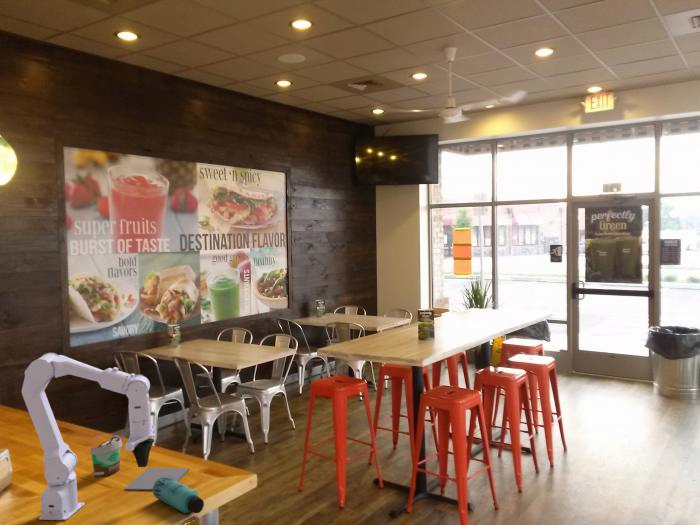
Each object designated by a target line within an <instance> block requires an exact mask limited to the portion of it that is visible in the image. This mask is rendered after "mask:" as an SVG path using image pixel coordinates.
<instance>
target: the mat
mask: <svg viewBox="0 0 700 525" xmlns="http://www.w3.org/2000/svg"><path fill="white" fill-rule="evenodd" d="M189 471H190V468H189V467H187V468H185V467H184V468H180V467H178V468H177V467H147V468H146V469H145V470H143V471H142V473H141V472H140V474H139V475H138V476H137V477H136V478H135V479H134V480H132V482H130V483H129V484H128V485H127V486H126V487H125V488H124V491H140V490H153V486H154V483H155V482H156V481H157V480H158V479H159V478H161V477H164V476H165V477H170V478H171V479H173V480H175V481H177V482H180V480H181V479H182V478H183V477H184V476H185V475H186V474H187V473H188V472H189ZM186 472H187V473H186Z"/></svg>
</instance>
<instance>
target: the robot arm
mask: <svg viewBox="0 0 700 525" xmlns="http://www.w3.org/2000/svg"><path fill="white" fill-rule="evenodd" d="M68 375H71V376H74V377H79V378H82V379H86V380H90V381H95V382H97V383H98V384H99V385H100V387H101V389H105V390H107V391H108V390H109V391H110V392H111V391H112V392H114V393H115V392H116V393H119V394H122V395H126V397H127V398H128V419H129V420H128V421H129V433H130V434H129V437H128V439H127V441H126V443H125V451H129V452H130V451H131V452H132V454H133V456H134V459H135V461H136V464H137V466H138V468H146V467H148V463H149V458H150V452H151V450H152V446H153V444H154V442H155V440H154V438H155V437H156V432H157V431H156V426H155V425H152V419H151V402H150V395H149V391H150V388H151V383H150V380H149V379H148V378H147V377H146V376H145V375H143V374H136V373H131V374H130V373H128V372H124V371H121V370H119V367H116V366H115V367H113V368H111V367H108V368H106V369H104V370H103V369H100V368H98V367H95V366H92V365H89V364H88V363H87V364H86V363H84V362H81V361H78V360H75V359H74V358H70V357H68V356H66V355H62V354H59V355H58V354H57V353H55V352H48V353H44V354H43V355H42V356H41V357H38V358H37V359H35V360H33V361H31V363H30V364H29V365H28V367H27V368H26V369H25V371H24V380H23V383H22V387H21V394H22V398H23V401H24V403H25V405H26V408H27V411H28V414H29V416H30V419H31V421H32V423H33V424H32V425H33V427H34V428H35V431H36V435H37V437H38V439H39V442H40V444H41V448H42V450H43V462H42V463H43V465H44V474H43V475H44V479H45V480H46V482H47V484H46V488H45V489H44V491H43V492H42V494H41V495H40V507H41V508H40V509H41V515H40V516H39V517H38V519H39V520H41V521H43V520H45V521H48V520H49V521H66V520H68V519H69V518H71V517H72V516H73V515H74V514H75V513H76V512H78V511H79V510H80V509H81V508H82V507H83V506H85V502H78V501H79V500H78V485H77V483H78V482H77V473H76V472H75V469H76V467H77V466H78V465H77V464H78V463H79V462H78V457H77V455H76V453H74V452H73V451H72V450H71V448H70V446H69V445H68V444H67V443H66V442H64V440H63V437H62V434H61V432H60V429H59V426H58V423H57V421H56V418H55V415H54V412H53V410H52V408H51V405H50V403H49V400H48V397H47V394H46V392H45V390H46V388H47V386H48V385H49V383H50V382H51V380H52V379H53V377H54V378H59V377H60V378H61V377H63V376H68Z"/></svg>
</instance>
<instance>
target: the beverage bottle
mask: <svg viewBox="0 0 700 525" xmlns="http://www.w3.org/2000/svg"><path fill="white" fill-rule="evenodd" d="M152 493H153V496H154V498H156V499H157V500H159V501H161V502H162V503H164V504H167V505H168V506H170V507H172V508H174V509H176V510H178V511H180V512H181V513H184V514H188V513H193V514H199V513H201V511H203V508H204V506H205V501H204V500H203V499H202V498H201V497H199V496H200V495H199V493H198V492H197V490H195V489H193V488H190V487H188V486H187V485H186V484H183V483H182V482H180V481H178V482H177V481H175V480H173V479H171V478H170V477H165V476H164V477H161V478H159V479H158V480H157V481H156V482H155V483H154V486H153V491H152Z"/></svg>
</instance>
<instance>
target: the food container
mask: <svg viewBox="0 0 700 525" xmlns="http://www.w3.org/2000/svg"><path fill="white" fill-rule="evenodd" d="M111 436H112V437H111V438H109V440H107V441H106V440H105V441H104V442H102V443H100V444H99V445H98V446H96V447H93V446H92V447H90V451H89V455H91V460H92V467H93V475H94V476H93V477H94V478H104V477H109V476H113V475H114V474H117V473H118V472H119V471H120V468H121V467H120V466H121V464H120V463H121V448H122V447H123V442H122V441H123V440H122V439H121V437H120V436H119V435H115V434H114V435H113V434H112V435H111ZM116 472H117V473H116Z"/></svg>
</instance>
